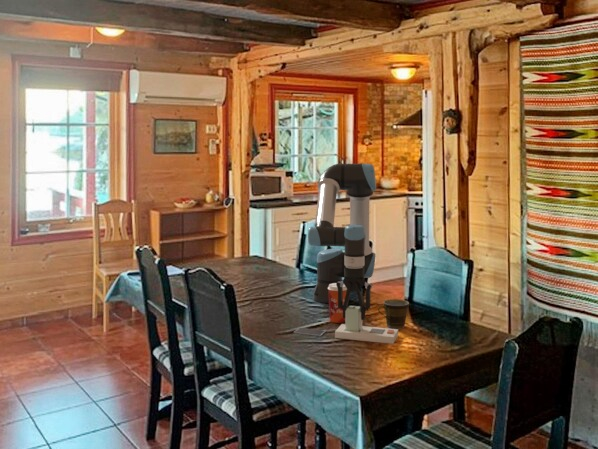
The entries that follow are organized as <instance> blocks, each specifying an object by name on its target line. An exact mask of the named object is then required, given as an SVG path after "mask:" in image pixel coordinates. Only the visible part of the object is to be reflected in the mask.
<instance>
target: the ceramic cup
mask: <svg viewBox="0 0 598 449" xmlns="http://www.w3.org/2000/svg"><path fill="white" fill-rule="evenodd" d="M409 306H410V302H409V301H408V300H406V299H405V300H404V299H398V298H397V299H395V298H393V299H386V300H384V301H383V305H379V306H378V308H377V311H378V313H380V314H381V315H382V316H383V317H384V318H385V321H386V328H389V329H398V330H402V329H404V327H405V326H406V321H407V315H408V311H409ZM380 308H383V309H384V313H383V312H381V310H380Z"/></svg>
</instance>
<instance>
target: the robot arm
mask: <svg viewBox="0 0 598 449" xmlns="http://www.w3.org/2000/svg"><path fill="white" fill-rule="evenodd" d="M316 187H317V191H318V197H317V204H316V205H317V206H316V211H315V212H316V213H315V219H314V220H315V221H314V225H313V226H310V227H308V230H307V241H308V244H309V245H310V246H313V247H344V252H343V249H342V248H328V249H324V250H321V251H319V252H318V253H317V255H316V258H317V259H316V265H317V266H316V285H315V288H314V290H313V293H312V294H313V295H312V299H313V301H315V302H317V303H318V302H319V303H325V304H329V291H328V286H329V284H333V283H336V285H337V288H338V308H341V309H342V310H343V318H345V321H344V324H345V327H346V318H347V308H348V307H349V301H350V298H351V294H352V292H355V293H356V295H357V299H358V304H359V307H360V309H361V310H360V311H359V329H361V328H362V326H363V321H364V320H365V319H366V312H367V311H369V310H370V309H371V291H372V287H373V283H369V282H366V280H365V279H370V278H372V277H373V274H374V271H375V265H376V264H375V263H376V253H375V252H373V248H372V247H371V246H370V198H371V197H372V196H373V195H374V192H375V191H376V190H377V179H376V172H375V168H374V165H373V164H371V163H336V164H332V165H331V166H328V168H326V169H325V170H324V171H323V172H322V174H321V175H320V176H319V178H318V180H317V186H316ZM340 191H345V192H346V196H348V198H349V224H348V225H346V226H335V216H336V215H335V214H336V206H337V195H338V193H339V192H340ZM343 284H344V285H345V286H346V288H347V291H346V297H345V301H344V305H343ZM364 286H365V301H364V295H363V287H364Z"/></svg>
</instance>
